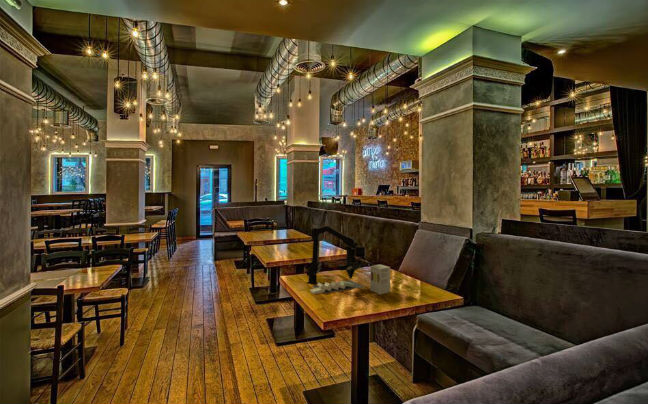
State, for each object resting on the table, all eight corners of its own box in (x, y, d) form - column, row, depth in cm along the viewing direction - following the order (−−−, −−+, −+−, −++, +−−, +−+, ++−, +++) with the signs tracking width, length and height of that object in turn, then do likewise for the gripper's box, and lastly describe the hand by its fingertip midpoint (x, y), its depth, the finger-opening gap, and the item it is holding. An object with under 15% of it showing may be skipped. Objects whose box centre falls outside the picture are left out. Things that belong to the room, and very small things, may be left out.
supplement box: (369, 291, 228) (369, 265, 227) (379, 288, 233) (379, 263, 232) (380, 294, 220) (380, 268, 219) (390, 292, 225) (390, 266, 225)
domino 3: (333, 288, 232) (324, 284, 228) (334, 285, 232) (325, 282, 229) (337, 290, 228) (328, 286, 224) (338, 287, 228) (329, 283, 224)
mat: (311, 287, 236) (311, 286, 236) (350, 281, 251) (350, 280, 251) (324, 294, 220) (324, 293, 220) (365, 287, 236) (365, 286, 236)
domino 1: (321, 289, 227) (310, 292, 223) (321, 286, 227) (310, 289, 223) (325, 291, 223) (314, 294, 219) (324, 288, 223) (313, 291, 219)
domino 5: (349, 285, 238) (339, 283, 234) (349, 282, 238) (340, 280, 234) (353, 287, 234) (343, 285, 230) (354, 284, 234) (344, 282, 230)
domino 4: (340, 286, 235) (330, 283, 231) (341, 284, 235) (332, 280, 231) (344, 288, 230) (334, 285, 226) (345, 286, 230) (335, 282, 227)
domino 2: (326, 289, 229) (317, 285, 226) (327, 286, 230) (318, 282, 226) (330, 291, 225) (320, 287, 221) (331, 288, 225) (322, 284, 222)
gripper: (345, 259, 223) (345, 283, 224) (369, 256, 232) (368, 279, 233) (336, 256, 233) (336, 279, 233) (359, 253, 242) (359, 275, 243)
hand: (350, 278), depth 235 cm, fingers closed
